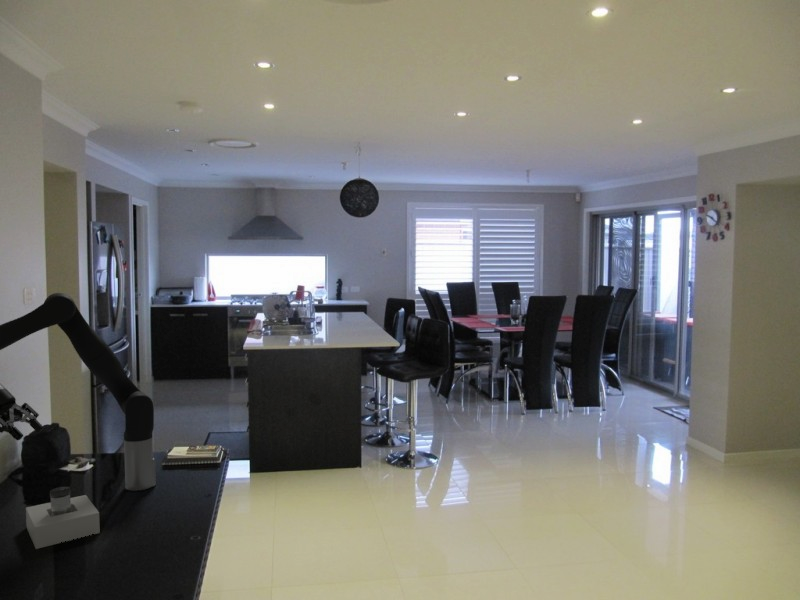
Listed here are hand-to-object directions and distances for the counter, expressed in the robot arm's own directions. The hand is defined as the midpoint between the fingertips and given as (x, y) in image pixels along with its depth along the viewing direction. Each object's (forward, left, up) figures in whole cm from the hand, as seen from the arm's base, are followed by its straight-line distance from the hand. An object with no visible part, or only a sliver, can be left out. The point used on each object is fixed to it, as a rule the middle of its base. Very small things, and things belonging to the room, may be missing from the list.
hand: (31, 434), depth 184 cm
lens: (-5, +14, -24) cm, 29 cm away
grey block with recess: (-5, +14, -26) cm, 30 cm away
